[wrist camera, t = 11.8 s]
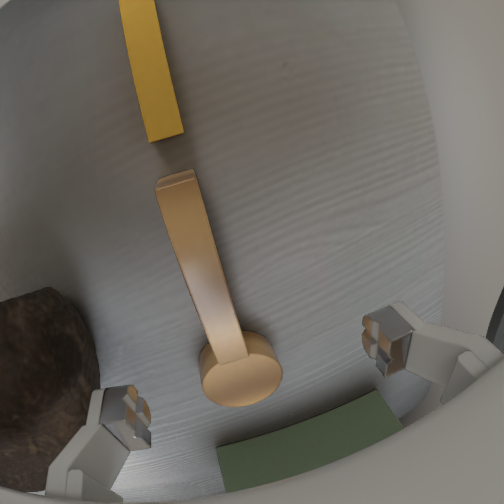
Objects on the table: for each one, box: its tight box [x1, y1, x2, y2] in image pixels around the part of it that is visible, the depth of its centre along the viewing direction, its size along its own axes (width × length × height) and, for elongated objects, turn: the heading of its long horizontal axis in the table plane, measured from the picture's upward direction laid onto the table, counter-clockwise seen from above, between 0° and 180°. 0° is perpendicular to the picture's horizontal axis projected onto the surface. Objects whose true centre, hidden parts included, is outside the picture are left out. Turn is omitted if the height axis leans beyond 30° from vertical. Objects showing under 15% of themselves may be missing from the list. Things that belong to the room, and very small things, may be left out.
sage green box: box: [216, 390, 404, 493], centre depth 20 cm, size 15×7×8 cm, turn 102°
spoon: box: [155, 169, 282, 407], centre depth 14 cm, size 14×5×2 cm, turn 12°
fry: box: [118, 0, 184, 143], centre depth 9 cm, size 1×7×1 cm, turn 12°
